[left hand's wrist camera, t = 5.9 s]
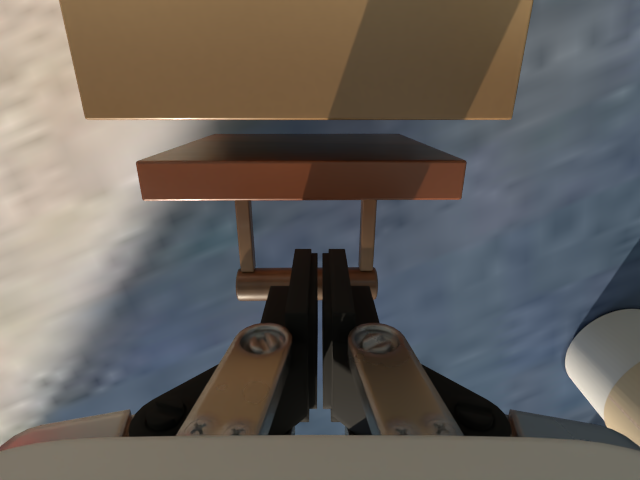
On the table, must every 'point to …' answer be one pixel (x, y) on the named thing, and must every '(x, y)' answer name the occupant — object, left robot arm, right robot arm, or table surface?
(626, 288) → the table surface
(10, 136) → the table surface
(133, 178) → the table surface
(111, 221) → the table surface
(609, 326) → the coffee cup
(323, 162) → the drawer
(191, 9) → the cabinet
